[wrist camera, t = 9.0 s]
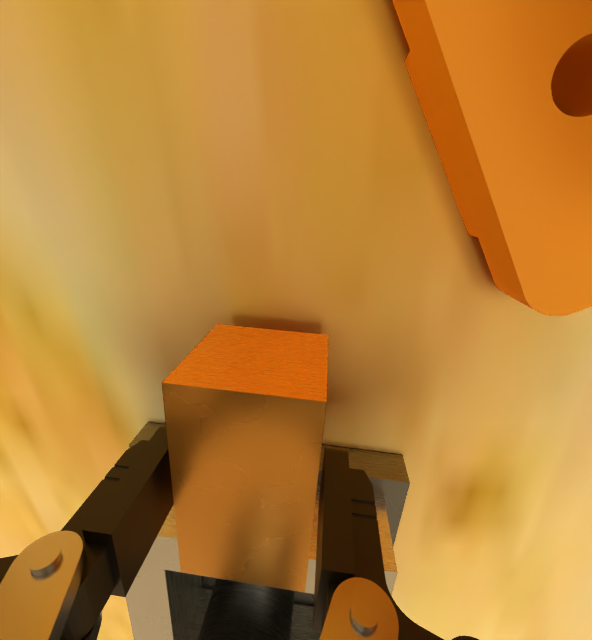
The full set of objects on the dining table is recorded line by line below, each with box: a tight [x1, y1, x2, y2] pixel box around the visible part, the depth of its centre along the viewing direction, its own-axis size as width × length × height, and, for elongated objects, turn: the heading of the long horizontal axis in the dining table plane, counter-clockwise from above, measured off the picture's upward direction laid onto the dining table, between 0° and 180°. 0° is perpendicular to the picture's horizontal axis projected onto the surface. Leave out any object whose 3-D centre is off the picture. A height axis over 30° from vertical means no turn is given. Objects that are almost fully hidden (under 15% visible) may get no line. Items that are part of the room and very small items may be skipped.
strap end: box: [126, 324, 397, 640], centre depth 12 cm, size 17×10×4 cm, turn 177°
